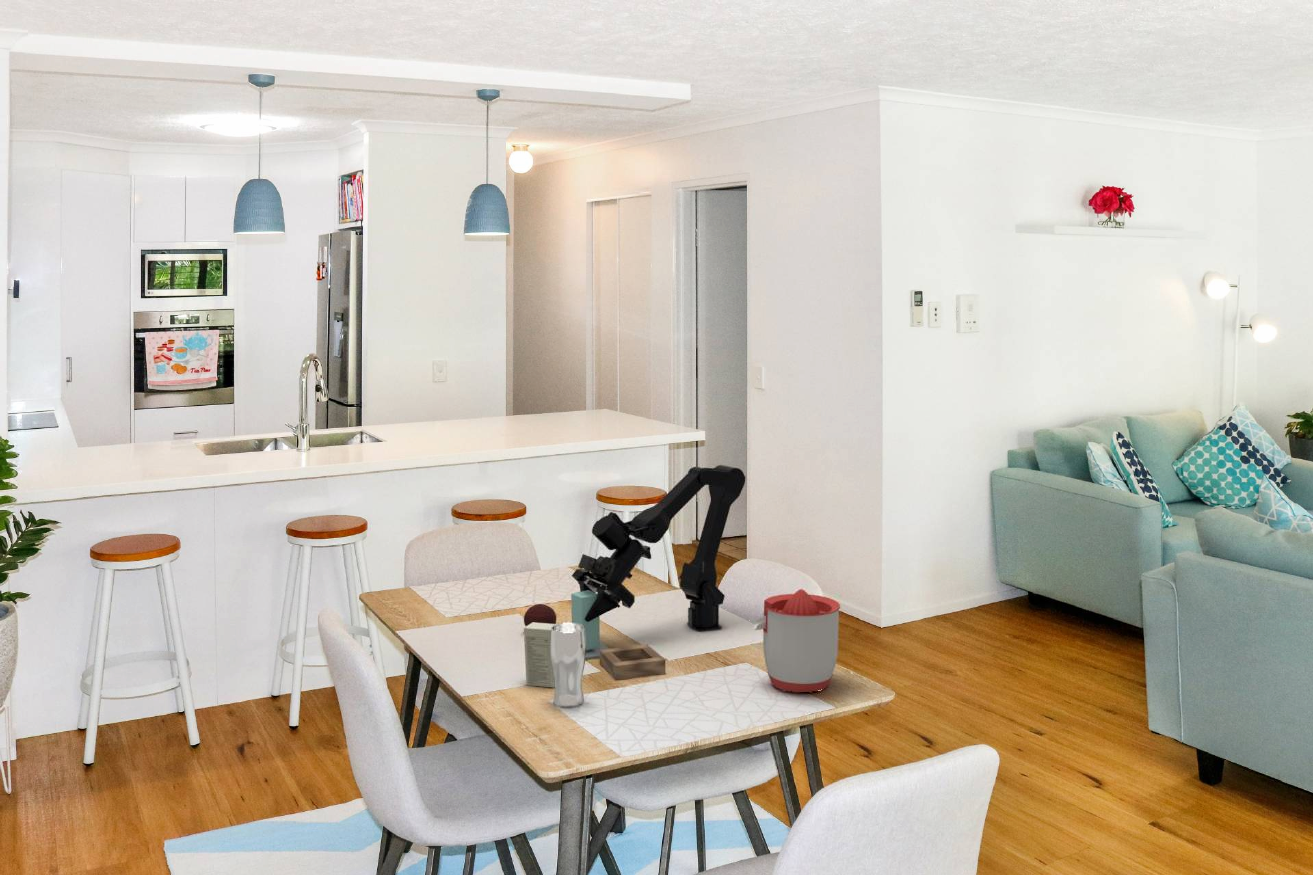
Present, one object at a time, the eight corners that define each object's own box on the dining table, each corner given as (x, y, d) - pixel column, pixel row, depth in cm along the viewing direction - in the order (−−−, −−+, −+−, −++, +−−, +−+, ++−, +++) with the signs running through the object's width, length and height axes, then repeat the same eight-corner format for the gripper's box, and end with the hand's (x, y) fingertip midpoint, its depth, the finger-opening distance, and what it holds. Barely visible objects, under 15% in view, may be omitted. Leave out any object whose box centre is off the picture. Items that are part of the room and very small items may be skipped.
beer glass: (551, 696, 219) (549, 622, 217) (586, 694, 220) (585, 621, 218) (550, 708, 212) (549, 633, 210) (586, 707, 213) (586, 632, 211)
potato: (551, 639, 256) (551, 609, 255) (519, 637, 257) (519, 607, 256) (560, 629, 263) (560, 601, 262) (529, 627, 264) (529, 599, 263)
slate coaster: (600, 642, 253) (600, 640, 253) (614, 656, 243) (614, 653, 243) (558, 647, 249) (558, 645, 249) (570, 661, 240) (570, 658, 240)
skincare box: (561, 681, 228) (561, 623, 226) (553, 688, 223) (552, 629, 222) (533, 677, 230) (532, 620, 228) (524, 684, 226) (523, 626, 224)
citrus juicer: (750, 671, 234) (751, 578, 231) (833, 671, 233) (835, 579, 231) (755, 697, 218) (756, 599, 216) (843, 698, 218) (845, 599, 215)
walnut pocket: (647, 657, 242) (647, 644, 242) (665, 673, 232) (665, 659, 232) (599, 663, 239) (599, 650, 238) (615, 679, 228) (615, 665, 228)
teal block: (589, 642, 249) (588, 590, 248) (599, 647, 246) (599, 594, 244) (572, 645, 247) (571, 593, 245) (582, 650, 243) (581, 597, 241)
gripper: (578, 533, 253) (536, 587, 248) (622, 548, 238) (579, 606, 233) (608, 562, 258) (567, 616, 254) (653, 578, 243) (611, 636, 238)
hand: (580, 618), depth 245 cm, fingers open, 5 cm apart
